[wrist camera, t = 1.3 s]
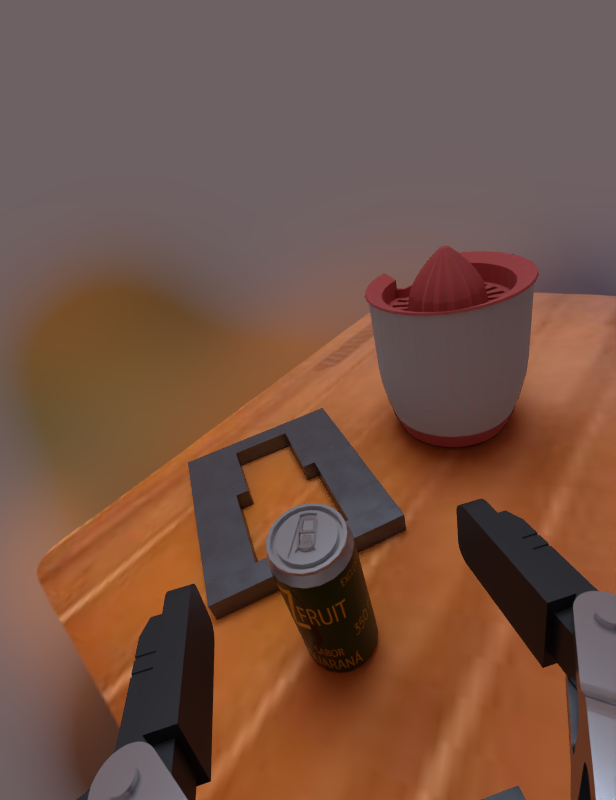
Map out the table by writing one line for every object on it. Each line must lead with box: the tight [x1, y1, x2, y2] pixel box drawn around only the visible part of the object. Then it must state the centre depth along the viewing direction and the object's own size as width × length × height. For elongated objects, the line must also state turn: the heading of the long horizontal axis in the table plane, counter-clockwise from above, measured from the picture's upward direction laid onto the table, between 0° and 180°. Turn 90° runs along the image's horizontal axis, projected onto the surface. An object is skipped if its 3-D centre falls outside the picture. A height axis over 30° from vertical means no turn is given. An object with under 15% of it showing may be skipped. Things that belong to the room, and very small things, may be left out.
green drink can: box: [266, 503, 378, 673], centre depth 27 cm, size 5×5×12 cm
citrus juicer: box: [365, 246, 538, 447], centre depth 43 cm, size 16×17×20 cm
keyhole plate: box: [188, 408, 406, 619], centre depth 43 cm, size 20×18×2 cm
